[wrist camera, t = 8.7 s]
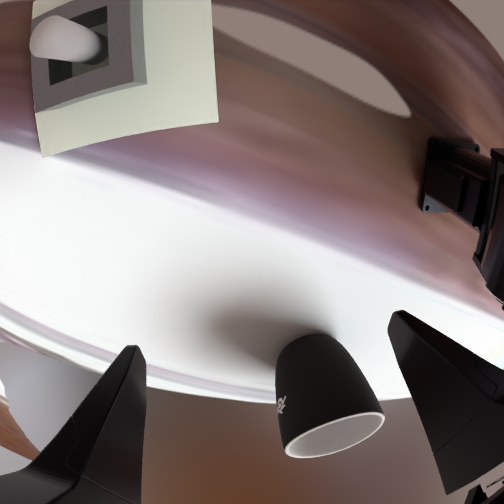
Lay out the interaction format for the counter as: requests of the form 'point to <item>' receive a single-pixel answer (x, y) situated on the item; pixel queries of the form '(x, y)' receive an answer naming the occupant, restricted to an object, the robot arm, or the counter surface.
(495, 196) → the robot arm
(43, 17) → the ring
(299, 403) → the mug
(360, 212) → the counter surface
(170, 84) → the peg board
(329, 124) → the counter surface
